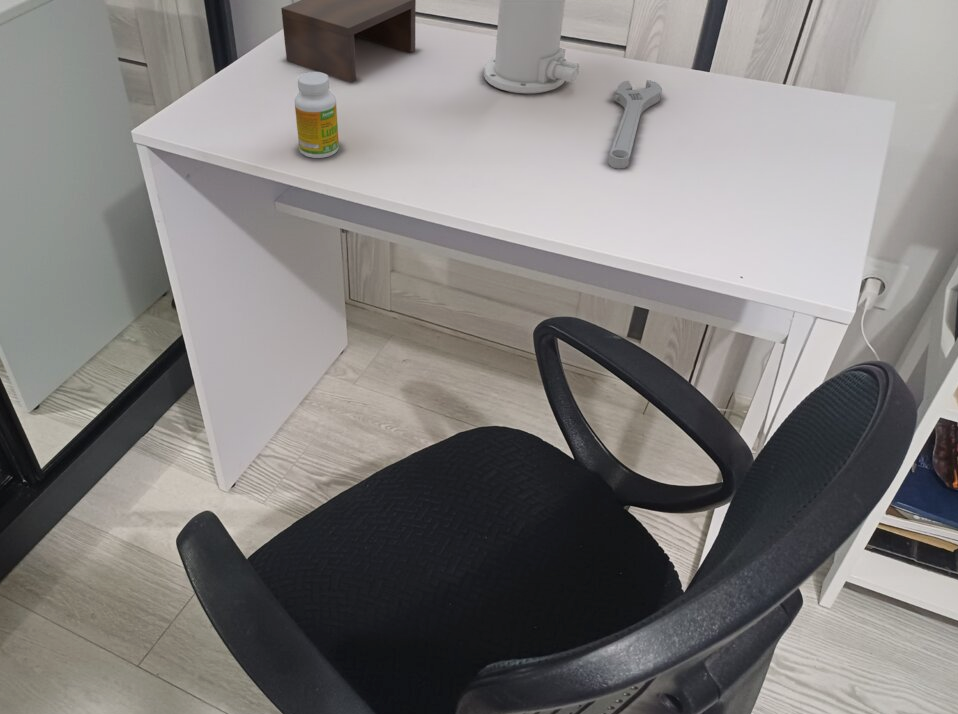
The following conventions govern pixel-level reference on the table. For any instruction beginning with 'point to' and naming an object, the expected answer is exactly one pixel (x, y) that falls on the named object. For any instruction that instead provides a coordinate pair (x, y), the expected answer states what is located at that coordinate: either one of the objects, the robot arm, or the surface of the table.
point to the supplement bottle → (316, 116)
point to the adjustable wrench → (630, 118)
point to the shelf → (344, 31)
